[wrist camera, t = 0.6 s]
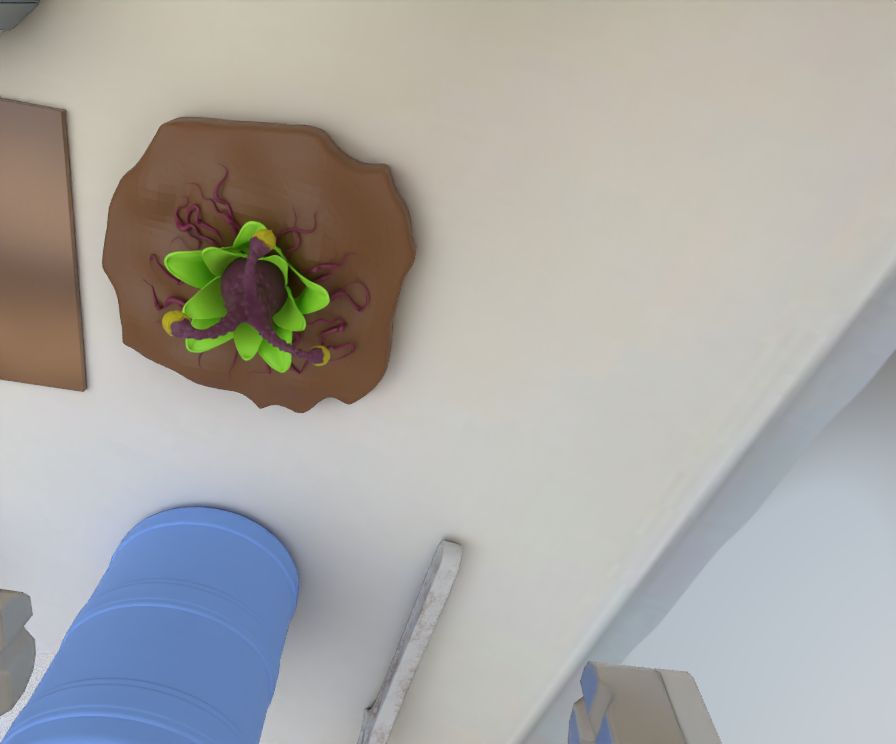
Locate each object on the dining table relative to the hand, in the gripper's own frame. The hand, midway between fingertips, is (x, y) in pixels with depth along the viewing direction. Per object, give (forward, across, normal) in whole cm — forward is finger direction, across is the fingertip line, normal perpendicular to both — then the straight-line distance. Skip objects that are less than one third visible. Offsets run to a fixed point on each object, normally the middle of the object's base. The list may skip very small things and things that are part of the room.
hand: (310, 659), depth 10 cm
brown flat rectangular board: (+38, +29, +6) cm, 48 cm away
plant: (+38, +10, +4) cm, 40 cm away
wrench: (+43, -3, +40) cm, 59 cm away
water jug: (+42, +14, +33) cm, 55 cm away
